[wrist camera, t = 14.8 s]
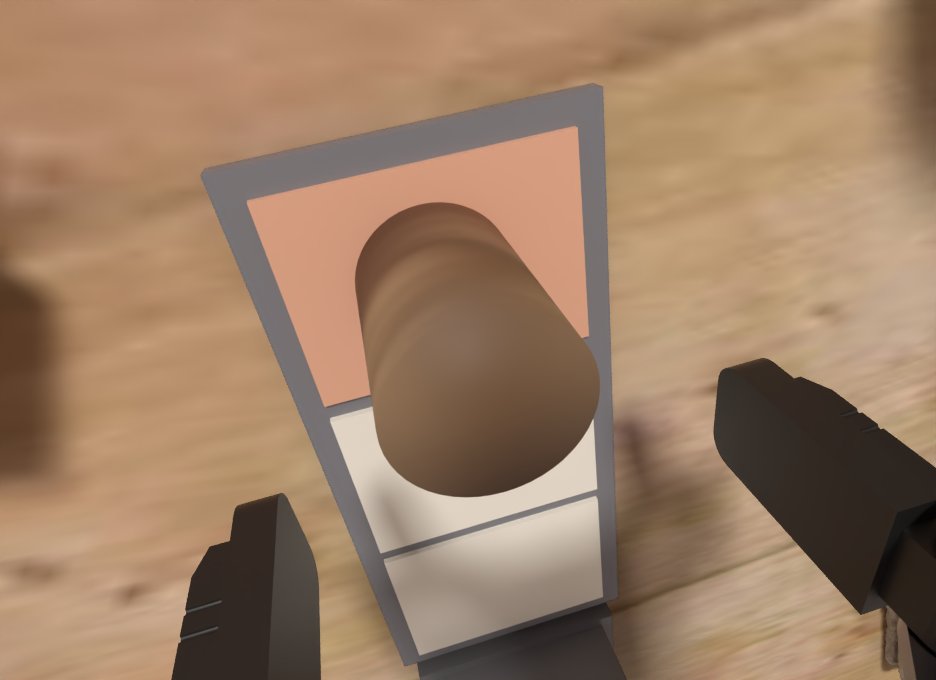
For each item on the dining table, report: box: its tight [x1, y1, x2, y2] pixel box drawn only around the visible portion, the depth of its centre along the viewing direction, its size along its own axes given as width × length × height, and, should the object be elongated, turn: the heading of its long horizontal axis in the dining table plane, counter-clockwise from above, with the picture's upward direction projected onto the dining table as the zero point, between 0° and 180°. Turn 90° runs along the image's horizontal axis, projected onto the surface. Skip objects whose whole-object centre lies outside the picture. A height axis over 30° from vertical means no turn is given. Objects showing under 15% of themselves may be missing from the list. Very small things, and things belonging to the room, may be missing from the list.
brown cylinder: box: [355, 202, 600, 498], centre depth 14 cm, size 4×4×6 cm
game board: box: [200, 83, 618, 666], centre depth 20 cm, size 10×22×1 cm, turn 9°
